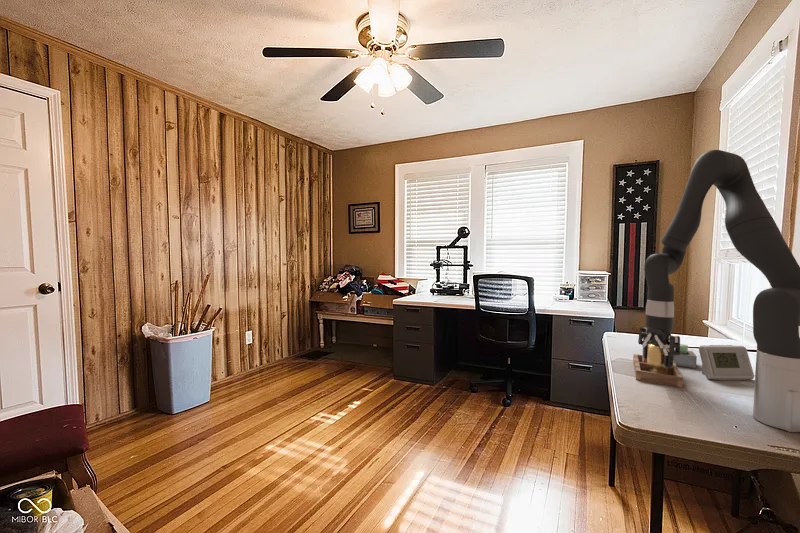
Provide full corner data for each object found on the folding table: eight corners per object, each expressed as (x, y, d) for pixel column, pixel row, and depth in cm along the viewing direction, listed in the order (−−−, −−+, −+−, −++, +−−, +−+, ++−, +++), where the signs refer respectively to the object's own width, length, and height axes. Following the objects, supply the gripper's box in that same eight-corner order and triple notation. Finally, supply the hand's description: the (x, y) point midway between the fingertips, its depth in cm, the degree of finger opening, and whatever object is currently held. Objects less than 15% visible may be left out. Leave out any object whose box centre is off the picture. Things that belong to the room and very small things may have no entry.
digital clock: (706, 380, 115) (708, 348, 114) (688, 371, 123) (690, 341, 123) (763, 384, 112) (765, 351, 112) (740, 374, 121) (742, 344, 121)
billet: (671, 380, 114) (673, 347, 113) (655, 381, 113) (657, 347, 113) (657, 374, 119) (659, 342, 119) (642, 374, 119) (643, 342, 118)
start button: (690, 354, 130) (690, 346, 130) (680, 354, 130) (680, 346, 130) (681, 351, 134) (681, 343, 134) (671, 351, 134) (671, 343, 134)
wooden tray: (682, 387, 108) (682, 377, 108) (635, 379, 114) (636, 370, 114) (672, 367, 127) (672, 359, 127) (633, 361, 134) (633, 353, 133)
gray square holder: (696, 368, 126) (696, 356, 126) (668, 364, 131) (668, 352, 130) (692, 362, 133) (692, 351, 133) (665, 359, 137) (666, 348, 137)
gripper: (689, 318, 109) (686, 369, 109) (653, 310, 123) (650, 356, 123) (666, 318, 108) (664, 370, 109) (632, 310, 122) (630, 356, 123)
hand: (657, 362), depth 116 cm, fingers open, 8 cm apart
